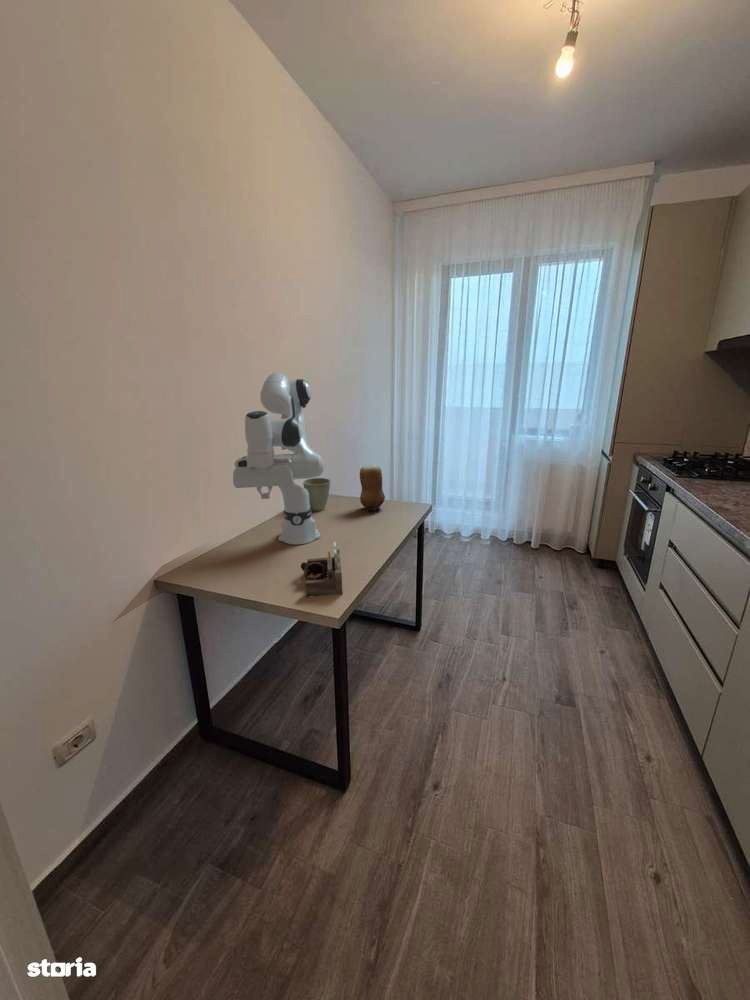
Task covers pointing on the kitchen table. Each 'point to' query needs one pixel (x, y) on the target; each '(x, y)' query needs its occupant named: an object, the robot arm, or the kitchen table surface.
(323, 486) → the plant pot
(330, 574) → the grey flat panel
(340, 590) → the stand
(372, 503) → the butternut squash
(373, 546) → the kitchen table surface
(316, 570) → the pottery mug
